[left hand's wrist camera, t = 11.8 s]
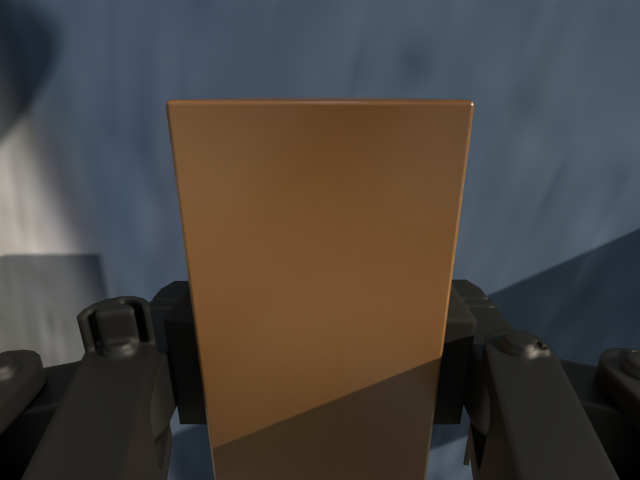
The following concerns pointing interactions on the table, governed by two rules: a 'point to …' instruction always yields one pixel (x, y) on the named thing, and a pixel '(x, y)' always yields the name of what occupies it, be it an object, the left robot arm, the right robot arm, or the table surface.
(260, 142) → the beam
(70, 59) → the table surface
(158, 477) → the left robot arm
